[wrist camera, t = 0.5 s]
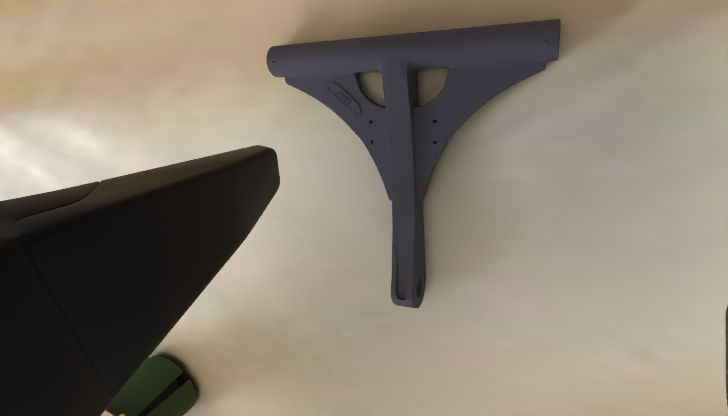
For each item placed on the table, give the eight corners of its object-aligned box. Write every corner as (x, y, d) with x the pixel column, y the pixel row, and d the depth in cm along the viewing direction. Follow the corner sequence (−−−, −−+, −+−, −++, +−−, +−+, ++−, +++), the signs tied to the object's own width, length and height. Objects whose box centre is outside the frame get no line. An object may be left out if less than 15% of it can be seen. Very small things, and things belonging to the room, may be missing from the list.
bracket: (314, 276, 30) (293, 298, 28) (280, 45, 25) (251, 48, 23) (542, 308, 25) (540, 339, 22) (561, 18, 19) (560, 18, 17)
